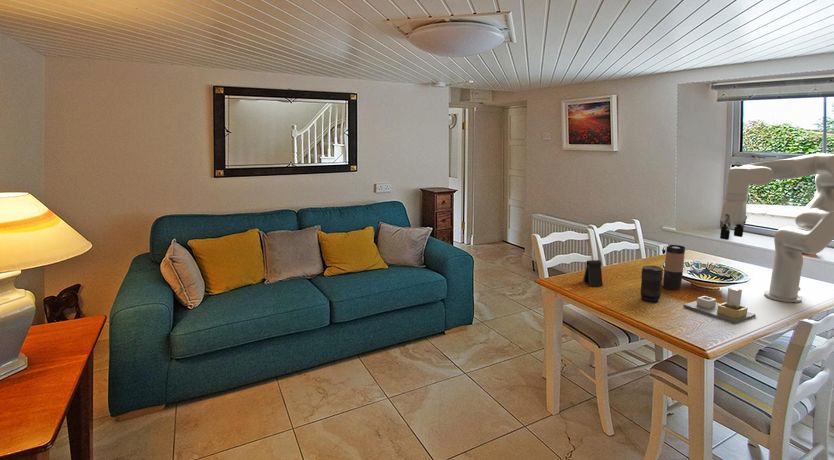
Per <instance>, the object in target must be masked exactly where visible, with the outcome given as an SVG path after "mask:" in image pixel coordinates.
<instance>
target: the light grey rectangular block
mask: <svg viewBox="0 0 834 460" xmlns="http://www.w3.org/2000/svg"><path fill="white" fill-rule="evenodd" d="M727 288H728V289H727V295H726V296H727V297H726V301H725V302H726V307H728V308H731V309H734V310H739V309H740V305H741V300H742V295H743V294H742V293H743V291H742V289H741V288H739V287H738V288H737V287H727Z"/></svg>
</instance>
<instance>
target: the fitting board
mask: <svg viewBox="0 0 834 460" xmlns="http://www.w3.org/2000/svg"><path fill="white" fill-rule="evenodd" d="M696 298H697V299H696V300H695V301H691V302H688V303H687V302H686V303H683V308H686V309H688V310H691V311H694V312H696V313H699V314H703V315H706V316H709V317H712V318H714V319H718V320H721V321H722V322H723V321H724V322H725V323H726V322H727V323H730V324H732V325H736V324H740V323H743V322H746V321H748V320H752V319H754V318H756V317H757V316H756V315H757V314H756V313H752V312H749V311H748V307H747V306H745V305H741V304H740V309H739V310H734V309H731V308H728V307H726V302H727V301H725V302H722V303H720V302H717V298H714V297H711V296H710V297H709V296H707V295H703V296H699V297H696ZM745 320H746V321H745Z"/></svg>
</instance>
